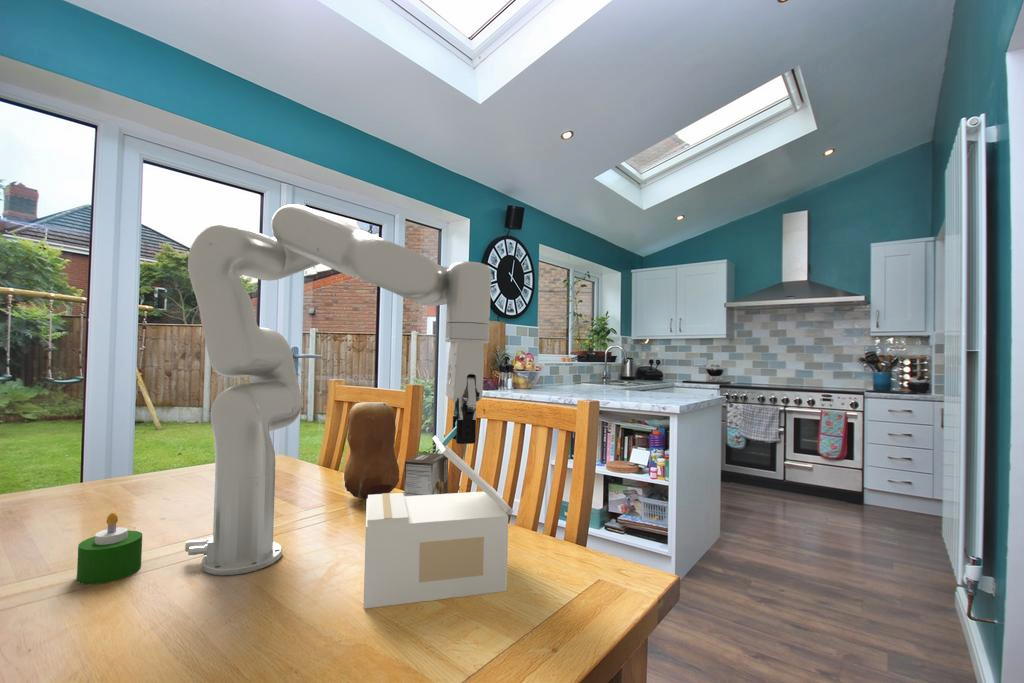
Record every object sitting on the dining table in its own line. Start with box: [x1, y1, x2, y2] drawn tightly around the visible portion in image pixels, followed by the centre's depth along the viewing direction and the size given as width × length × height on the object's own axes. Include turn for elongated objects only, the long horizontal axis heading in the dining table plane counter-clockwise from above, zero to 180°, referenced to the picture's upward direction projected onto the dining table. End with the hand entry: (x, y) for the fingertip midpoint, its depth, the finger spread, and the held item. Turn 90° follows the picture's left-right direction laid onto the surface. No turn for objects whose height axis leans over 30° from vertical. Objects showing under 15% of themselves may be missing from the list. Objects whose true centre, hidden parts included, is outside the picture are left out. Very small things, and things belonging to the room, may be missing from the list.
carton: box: [363, 490, 509, 610], centre depth 81 cm, size 22×14×13 cm, turn 106°
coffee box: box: [403, 452, 449, 496], centre depth 100 cm, size 9×6×16 cm
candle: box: [76, 512, 143, 585], centre depth 81 cm, size 8×8×10 cm
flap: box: [432, 421, 514, 516], centre depth 83 cm, size 16×13×6 cm
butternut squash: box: [343, 401, 400, 500], centre depth 123 cm, size 14×13×25 cm
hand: (463, 440), depth 82 cm, fingers closed on flap, 3 cm apart
